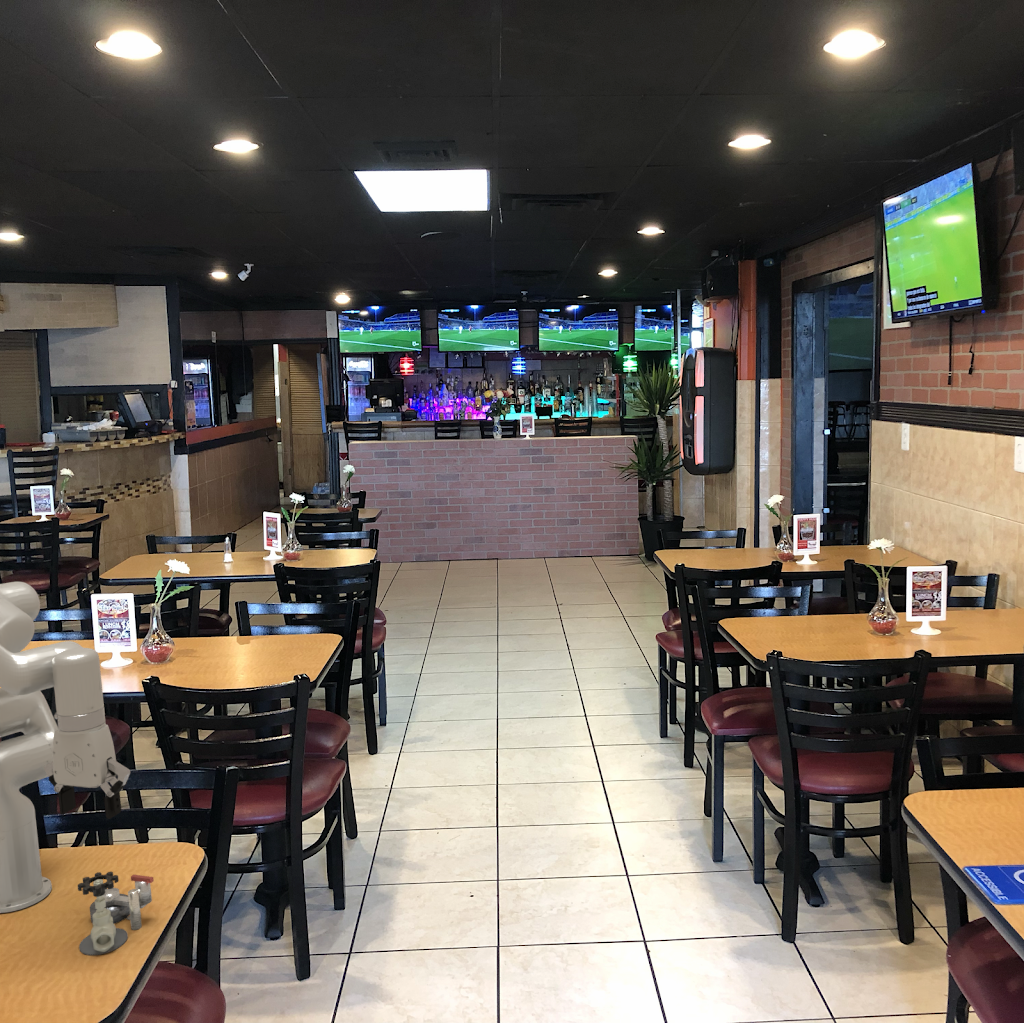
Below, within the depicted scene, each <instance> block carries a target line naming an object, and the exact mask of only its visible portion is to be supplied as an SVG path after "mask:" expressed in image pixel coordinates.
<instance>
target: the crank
mask: <svg viewBox="0 0 1024 1023" xmlns="http://www.w3.org/2000/svg"><path fill="white" fill-rule="evenodd" d="M130 881H132V882H134V887H135V888H134V889H138V892H139V903H140V909H143V908H145V907H146V906H147V905H148V904H150V903H151V902H152V901H153V899H152V898H153V897H152V888H151V884H152V883H153V882H154V876H150V875H149V876H148V875H141V874H140V875H139V874H132V875H131V876H130ZM120 894H121V893H120V889H119V888H118V887H114V888H112V889H108V888H107V889H106V890H105V894H104V895H103V897H105V902H106V907H108V906H112V905H121V906H128V907H129V900H128V897H126V896H120Z"/></svg>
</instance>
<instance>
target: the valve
mask: <svg viewBox="0 0 1024 1023" xmlns="http://www.w3.org/2000/svg"><path fill="white" fill-rule="evenodd" d="M104 880H106V881H105V882H104ZM119 880H120V879H119V875H117V874H115V875H114V871H107V872H106V873H105V874H102V872H101V871H98V872H96V873H94V876H92V877H90V876H84V877H83V878H82V882H80V883H78V884H77V891H79V892H82V895H84V896H85V895H86V896H87V895H89V894H90V893H92V896H93V897H95V898H96V899H94V901H95V908H96V909H97V910H96V912H95V913H94V914H93V915H92V918H93V924H92V928H91V931H90V934H91V940H92V942H93V946H94V950H97V951H101V952H105V951H107V950H108V949H110V948H111V947H112V946H113V945H114V938H115V935H116V928H117V927H116V924H114V923H113V917H111V912H110V910H108V909H106V908H104V907H106V902H105V897H103V895H104V894H105V890H106V889H112V888H115V884H117V883H119ZM92 883H93V884H92ZM91 884H92V885H91Z"/></svg>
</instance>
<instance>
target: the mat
mask: <svg viewBox="0 0 1024 1023" xmlns="http://www.w3.org/2000/svg"><path fill="white" fill-rule="evenodd" d="M128 939H129V935H128V932H127V931H126V930H125V929H123V928H120V927H116V935H115V938H114V945H113V946H112V947H111V948H110V949H108V950H107V951H105V952H101V951H97V950H94V946H93V942H92V940H91V933H90V934H89V935H87V936H86V937H84V938H83V939H82V940H81V942H80V943H79V945H78V946H79V947H78V950H79V952H81V954H83V955H86V956H101V955H104V954H108V953H111V952H113V951H116V950H117V949H119V948H120V947H122V946H123V945H124V944H125V943H126V942H127V941H128Z"/></svg>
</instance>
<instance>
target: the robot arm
mask: <svg viewBox="0 0 1024 1023" xmlns="http://www.w3.org/2000/svg"><path fill="white" fill-rule="evenodd" d="M40 608H41V602H40V597H39V595H38V592H37V591H36V590H35V588H33V587H32V586H31V584H29V583H27V582H24V581H11V582H6V583H5V582H4V583H0V738H3V737H6V736H9V735H13V734H15V733H19V732H21V733H23V735H20V736H16V737H12V738H9V739H5V740H3V741H0V914H4V913H5V914H6V913H12V912H15V911H21V910H23V909H26V908H29V907H31V906H34V905H35V904H37V903H39V902H41V901H42V900H43V899H45V898H46V897H47V896H48V895H49V894H50V893H51V891H52V889H53V887H52V886H53V885H52V881H51V879H49V878H47V877H45V876H43V875H42V865H41V857H40V856H41V855H40V847H39V846H40V845H39V837H38V836H39V835H38V829H37V820H36V809H35V805H34V804H33V802H32V801H31V799H30V798H29V797H28V796H26V795H24V794H22V793H21V792H20V789H21V788H22V787H25V786H27V785H28V784H32V783H33V782H37V781H40V780H43V779H45V778H48V781H49V782H50V784H51V785H52V786H53V790H54V792H55V793H57V795H58V806H59V813H60V814H61V815H65V814H67V813H68V812H69V813H70V812H71V811H72V810H74V809H75V808H77V804H76V803H77V802H76V795H75V793H76V791H75V788H76V787H77V788H87V789H88V788H89V789H91V788H92V789H96V788H99V787H100V789H102V791H103V792H104V793H105V794H106V796H105V797H104V799H103V800H104V801H103V802H104V810H105V817H106V819H112V818H114V817H115V816H117V815H118V814H120V813H121V812H122V803H121V802H122V800H121V793H120V792H121V791H123V790H124V788H125V786H126V785H127V784H128V780H129V777H130V775H131V770H130V769H129V768H128V767H126V766H125V765H123V764H121V763H120V762H118V761H117V759H116V758H117V757H116V752H115V746H114V745H115V744H114V741H113V737H112V733H111V731H110V727H109V725H108V724H106V716H105V715H106V713H105V704H104V703H105V702H104V693H103V684H102V674H101V663H100V654H99V653H98V651H96V650H95V649H93V648H90V647H83V646H82V645H81V644H79V642H75V641H71V640H69V641H68V640H66V641H61V642H56V643H55V642H54V643H51V644H45V645H42V646H37V647H34V648H29V649H26V650H24V649H25V648H27V646H28V645H29V644H30V642H31V641H32V639H33V637H34V635H35V629H36V628H35V626H36V625H35V623H34V620H35V619H37V617H38V616H39V614H40V613H39V612H40ZM51 688H53V689H54V697H55V698H54V700H55V710H56V712H54V715H53V713H52V710H51V709H50V706H49V704H48V701H47V700H46V698H45V695H44V694H43V693H42V691H43V690H46V689H51ZM56 720H57V722H56ZM109 783H110V784H109ZM110 785H111V786H110ZM74 787H75V788H74Z"/></svg>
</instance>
